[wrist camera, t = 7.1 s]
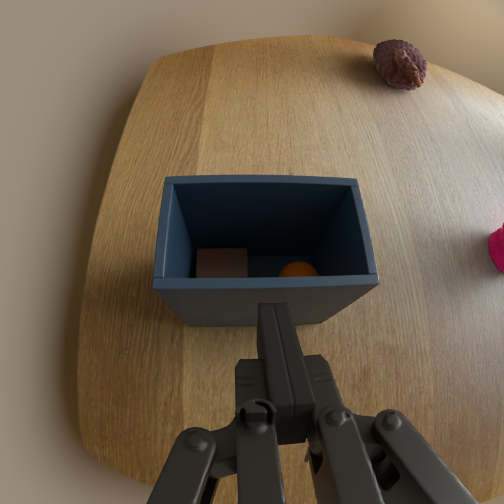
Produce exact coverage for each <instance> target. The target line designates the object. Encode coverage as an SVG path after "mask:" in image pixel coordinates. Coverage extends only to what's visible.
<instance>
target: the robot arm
mask: <svg viewBox="0 0 504 504" xmlns="http://www.w3.org/2000/svg"><path fill="white" fill-rule="evenodd" d="M257 352H258V359H240V360H239V362H238V363H237V365H236V367H235V397H236V411H235V418H234V420H233V421H232V422H231V423H230V424H229V425H228V426H226V427H224V428H221V429H218V430H214V431H209V430H206V429H204V428H199V427H193V428H188V429H186V430H184V431H182V432H181V433H180V434H179V436H178V437H177V439H176V441H175V443H174V445H173V447H172V450H171V452H170V454H169V456H168V458H167V460H166V463H165V465H164V467H163V469H162V471H161V473H160V476H159V478H158V480H157V482H156V484H155V486H154V489H153V491H152V493H151V495H150V497H149V499H148V502H147V504H212V502H213V499H214V496H215V493H216V490H217V487H218V484H219V481H220V478H222V477H226V476H229V475H233V474H236V473H237V483H238V504H286V501H285V494H284V487H283V480H282V473H281V466H280V458H279V451H278V445H285V444H296V443H305V441H306V438H307V439H308V443H309V447H308V450H307V453H306V456H305V462H307V461H308V459H309V464H310V469H311V474H312V479H313V484H314V489H315V494H316V499H317V504H384V503H385V504H479V503H478V502H477V501H476V500H475V498H474V497H473V496H472V495H471V494H470V492H469V491H468V490H467V489H466V488H465V486H464V485H463V484H462V483H461V482H460V480H459V479H458V478H457V477H456V476H455V474H454V473H453V472H452V471H451V470H450V468H449V467H448V466H447V465H446V464H445V463H444V461H443V460H442V459H441V458H440V457H439V455H438V454H437V453H436V452H435V451H434V450H433V448H432V447H431V446H430V445H429V444H428V442H427V441H426V440H425V439H424V438H423V437H422V435H421V434H420V433H419V432H418V431H417V429H416V428H415V427H414V426H413V425H412V424H411V422H410V421H409V420H408V419H407V418H406V417H405V415H403V414H402V413H401V412H399V411H397V410H392V409H387V410H383V411H381V412H380V413H379V414H377V416H376V417H370V416H360V415H356V414H354V413H352V412H351V410H349V409H348V408H346V407H345V406H344V404H343V402H342V399H341V397H340V394H339V391H338V388H337V386H336V383H335V380H334V379H333V375H332V372H331V369H330V367H329V364H328V362H327V361H326V360H325V359H324V358H323V357H322V356H321V355H309V356H303V353H302V350H301V346H300V343H299V340H298V336H297V333H296V329H295V326H294V323H293V319H292V316H291V312H290V309H289V306H288V302H286V303H258V319H257Z"/></svg>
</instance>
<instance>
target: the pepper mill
mask: <svg viewBox="0 0 504 504" xmlns="http://www.w3.org/2000/svg"><path fill="white" fill-rule="evenodd" d="M489 250H490V254H491V257H492V259H493V262H494V263H495V265H496V266H497V268H498V269H499V270H500V271H502V272H504V223H503V226H502V228H499V229H498V230H496V231H495V232H494V233H492V234H491V236H490V239H489Z"/></svg>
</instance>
